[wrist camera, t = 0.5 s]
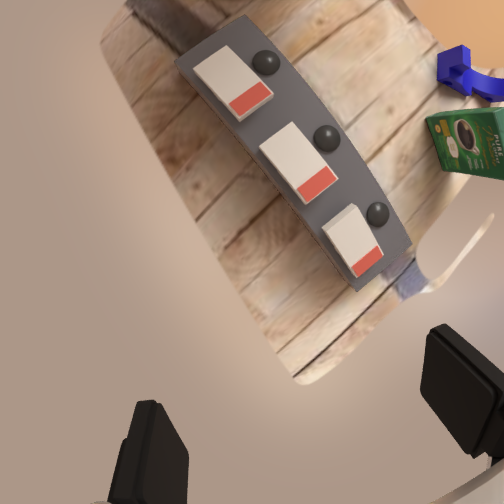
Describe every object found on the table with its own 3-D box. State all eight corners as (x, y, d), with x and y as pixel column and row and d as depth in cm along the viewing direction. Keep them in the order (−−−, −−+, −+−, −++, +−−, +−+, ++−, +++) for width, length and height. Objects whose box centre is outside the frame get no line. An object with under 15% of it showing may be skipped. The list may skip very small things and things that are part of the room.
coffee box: (455, 166, 36) (523, 174, 24) (442, 173, 36) (511, 183, 24) (437, 112, 34) (506, 103, 21) (423, 117, 34) (492, 108, 22)
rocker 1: (228, 53, 27) (226, 44, 25) (272, 99, 28) (274, 92, 26) (196, 75, 27) (192, 67, 25) (240, 123, 28) (238, 118, 26)
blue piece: (436, 80, 33) (462, 73, 27) (436, 54, 32) (462, 44, 26) (489, 111, 35) (515, 109, 29) (490, 86, 33) (515, 82, 28)
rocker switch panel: (242, 28, 30) (244, 13, 25) (396, 236, 38) (413, 244, 34) (179, 71, 30) (173, 60, 26) (344, 280, 39) (357, 293, 35)
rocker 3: (348, 201, 31) (357, 206, 29) (375, 248, 34) (384, 255, 32) (319, 225, 31) (326, 232, 30) (349, 270, 34) (357, 278, 33)
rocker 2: (290, 126, 30) (292, 120, 28) (334, 180, 30) (339, 178, 28) (258, 149, 30) (259, 145, 28) (303, 204, 31) (306, 204, 29)
